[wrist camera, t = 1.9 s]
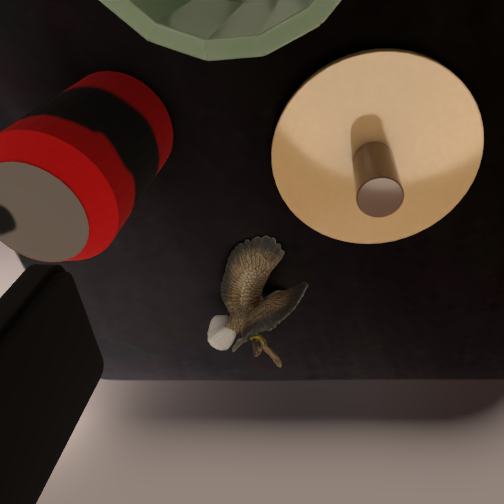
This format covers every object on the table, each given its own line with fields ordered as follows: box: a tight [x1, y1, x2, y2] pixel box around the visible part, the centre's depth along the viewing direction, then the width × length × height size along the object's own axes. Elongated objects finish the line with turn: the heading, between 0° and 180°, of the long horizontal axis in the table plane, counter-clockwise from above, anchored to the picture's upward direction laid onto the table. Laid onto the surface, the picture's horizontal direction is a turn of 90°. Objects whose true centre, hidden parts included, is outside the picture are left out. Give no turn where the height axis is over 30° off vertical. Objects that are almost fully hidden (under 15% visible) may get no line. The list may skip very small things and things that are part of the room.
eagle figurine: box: [208, 235, 308, 367], centre depth 36 cm, size 8×7×9 cm
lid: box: [271, 48, 484, 244], centre depth 28 cm, size 13×13×6 cm
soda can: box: [0, 71, 173, 262], centre depth 27 cm, size 8×8×12 cm
